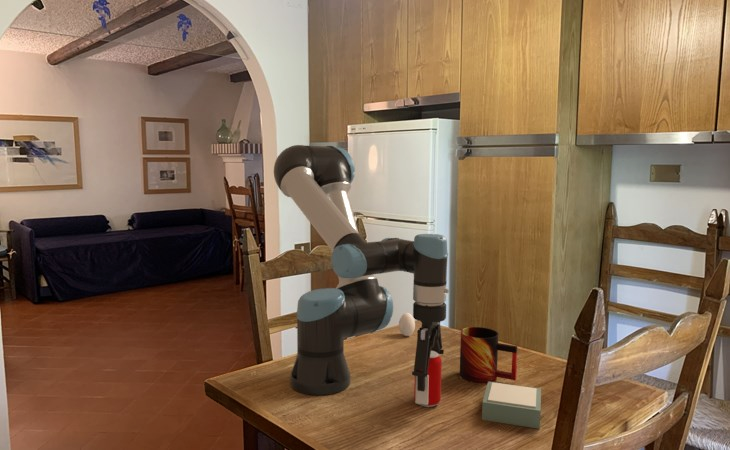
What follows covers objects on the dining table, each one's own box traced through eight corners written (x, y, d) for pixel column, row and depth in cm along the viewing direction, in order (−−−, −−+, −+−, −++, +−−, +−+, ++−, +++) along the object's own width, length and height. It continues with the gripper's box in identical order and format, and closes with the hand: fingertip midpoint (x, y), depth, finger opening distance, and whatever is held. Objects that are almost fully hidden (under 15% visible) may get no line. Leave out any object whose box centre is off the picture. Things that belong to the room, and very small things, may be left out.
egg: (418, 336, 172) (418, 313, 171) (404, 339, 170) (404, 316, 169) (408, 332, 177) (409, 310, 176) (395, 334, 174) (395, 312, 173)
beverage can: (412, 407, 121) (413, 356, 120) (416, 396, 127) (417, 347, 126) (439, 410, 120) (440, 359, 119) (441, 399, 126) (443, 350, 125)
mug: (516, 385, 135) (518, 339, 133) (462, 383, 135) (463, 337, 134) (508, 370, 144) (510, 327, 143) (457, 369, 145) (458, 326, 144)
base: (481, 419, 116) (482, 400, 115) (487, 397, 127) (488, 380, 126) (539, 428, 112) (540, 409, 111) (540, 405, 123) (541, 387, 123)
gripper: (435, 317, 108) (433, 417, 110) (455, 291, 132) (453, 374, 134) (399, 314, 110) (398, 411, 113) (425, 289, 134) (424, 370, 136)
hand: (428, 391), depth 123 cm, fingers open, 13 cm apart
